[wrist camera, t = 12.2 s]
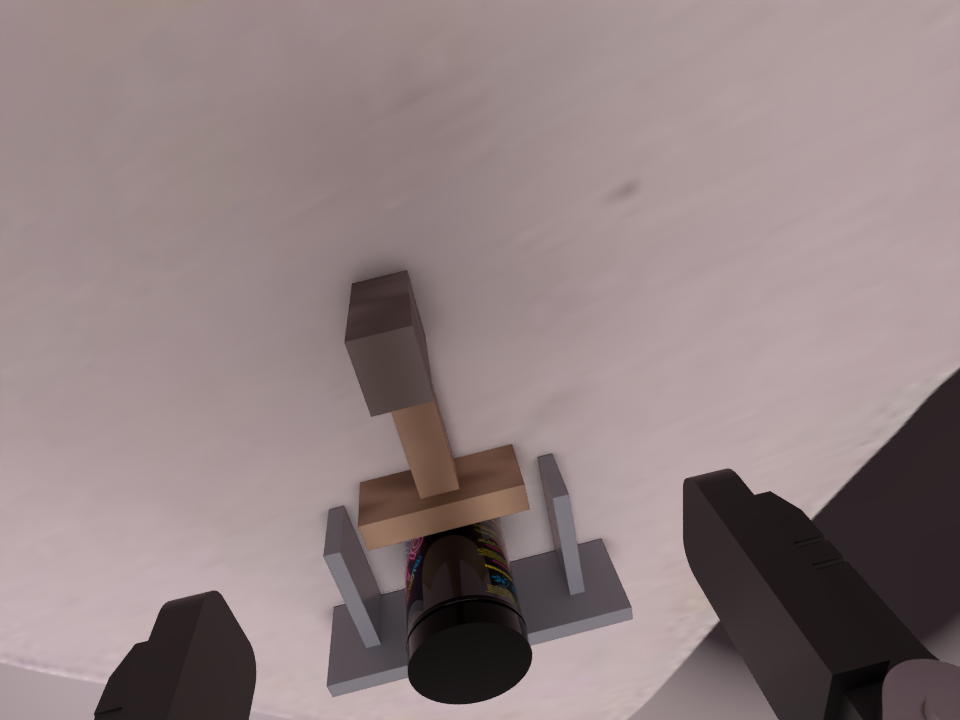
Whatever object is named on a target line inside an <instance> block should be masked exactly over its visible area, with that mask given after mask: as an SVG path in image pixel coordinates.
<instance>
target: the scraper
mask: <svg viewBox="0 0 960 720" xmlns="http://www.w3.org/2000/svg"><path fill="white" fill-rule="evenodd" d="M345 345H346V348H347V350H348V353H349V356H350V359H351V362H352V364H353V367H354V370H355V373H356V376H357V378H358V381H359V384H360V387H361V389H362V392H363V395H364V398H365V401H366V403H367V406H368V409H369V412H370V415H371V417H372V416H376V415H380V414H384V413H388V412H392V415H393V418H394V421H395V424H396V427H397V430H398V433H399V436H400V439H401V442H402V445H403V448H404V451H405V454H406V457H407V460H408V463H409V466H410V469H411V470H408V471H404V472H400V473H396V474H392V475H388V476H384V477H380V478H376V479H372V480H368V481H364V482H360V497H359V516H358V528H359V531H360V533H361V535H362V538H363V540H364V543H365V545H366V547H367V550H372V549H376V548H380V547H384V546H388V545H392V544H396V543H400V542H403V541H407V540H411V539H415V538H419V537H423V536H427V535H431V534H435V533H439V532H443V531H446V530H450V529H454V528H458V527H462V526H466V525H470V524H474V523H478V522H482V521H485V520H489V519H493V518H497V517H501V516H505V515H509V514H513V513H517V512H521V511H524V510H528V509H530V508H529V503H528V498H527V494H526V489H525V484H524V481H523V478H522V475H521V472H520V468H519V465H518V462H517V459H516V456H515V453H514V450H513V446H512V444H511V445H507V446H503V447H499V448H495V449H491V450H487V451H483V452H479V453H475V454H471V455H467V456H463V457H459V458H455V459H453V456H452V452H451V449H450V445H449V442H448V438H447V435H446V431H445V428H444V424H443V421H442V417H441V414H440V410H439V407H438V403H437V400H436V396H435V392H434V389H433V385H432V382H431V375H430V367H429V360H428V353H427V346H426V339H425V334H424V330H423V326H422V323H421V319H420V316H419V312H418V309H417V305H416V301H415V298H414V294H413V291H412V287H411V283H410V280H409V276H408V273H407V271H403V272H399V273H395V274H390V275H386V276H382V277H378V278H374V279H370V280H366V281H362V282H358V283H353V284H352V289H351V296H350V304H349V312H348V320H347V327H346V335H345Z"/></svg>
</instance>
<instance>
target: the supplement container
mask: <svg viewBox="0 0 960 720" xmlns="http://www.w3.org/2000/svg"><path fill="white" fill-rule="evenodd" d="M403 543H404V571H405V598H406V626H407V639H406V651H407V671H408V678H409V681H410V683H411V685H412V686H413V688H414V689H415V690H416V691H417V692H418V693H420V694H421V695H422V696H424V697H426V698H428V699H430V700H433V701H436V702H440V703H446V704H471V703H477V702H481V701H485V700H488V699H491V698H494V697H496V696H499V695H501V694H503V693H504V692H506V691H508V690H509V689H511V688H512V687H514V686H515V685H516V684H517V683H518V682H519V681H520V680H521V679H522V678H523V677H524V676H525V675H526V673H527V671H528V670H529V667H530V665H531V661H532V650H531V646H530V641H529V637H528V633H527V627H526V623H525V620H524V618H523V615H522V611H521V607H520V602H519V598H518V594H517V590H516V586H515V582H514V577H513V573H512V569H511V565H510V561H509V557H508V553H507V548H506V544H505V540H504V536H503V532H502V528H501V524H500V520H499V517H497V518H493V519H489V520H485V521H482V522H478V523H474V524H470V525H466V526H462V527H458V528H454V529H450V530H446V531H443V532H439V533H435V534H431V535H427V536H423V537H419V538H415V539H411V540H407V541H403Z"/></svg>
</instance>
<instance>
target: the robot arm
mask: <svg viewBox="0 0 960 720" xmlns="http://www.w3.org/2000/svg"><path fill="white" fill-rule="evenodd" d="M683 542H684V549H685V553H686V557H687V560H688V563H689V565H690V568H691V570H692V572H693V574H694V576H695V578H696V580H697V582H698V583H699V585H700V587H701V588H702V590H703V592H704V593H705V595H706V597H707V599H708V600H709V602H710V604H711V605H712V607H713V609H714V611H715V612H716V614H717V616H718V617H719V619H720V621H721V622H722V624H723V625H724V628H725V629H726V631H727V632H728V634H729V636H730V638H731V639H732V641H733V643H734V644H735V646H736V648H737V650H738V651H739V653H740V655H741V656H742V658H743V660H744V661H745V663H746V665H747V667H748V668H749V670H750V672H751V673H752V675H753V677H754V679H755V680H756V682H757V684H758V685H759V687H760V689H761V690H762V692H763V694H764V696H765V697H766V699H767V701H768V702H769V704H770V706H771V707H772V709H773V711H774V713H775V714H776V716H777V718H778V719H779V720H960V667H959V666H956V665H953V664H950V663H947V662H943V661H940V660H939V659H937V658H936V657H935V656H933V655H932V654H931V653H930V652H929V651H928V650H927V649H926V648H925V647H924V646H923V645H922V644H921V643H920V641H919V640H918V639H917V638H916V637H915V636H914V635H913V634H912V633H911V631H910V630H909V629H908V628H907V627H906V626H905V625H904V624H903V623H902V621H901V620H900V619H899V618H898V617H897V616H896V615H895V614H894V613H893V611H892V610H891V609H890V608H889V607H888V606H887V605H886V604H885V602H884V601H883V600H882V599H881V598H880V597H879V596H878V595H877V594H876V592H875V591H874V590H873V589H872V588H871V587H870V586H869V585H868V584H867V583H866V582H865V580H864V579H863V578H862V577H861V576H860V575H859V574H858V572H857V571H856V570H855V569H854V568H853V567H852V566H851V565H850V564H849V563H848V562H845V561H844V559H843V556H842V555H841V553H840V552H839V551H838V550H837V549H836V548H835V547H834V546H833V545H832V543H831V542H830V541H829V540H827V541H826V540H825V538H824V535H823V533H822V532H821V531H820V530H819V529H818V528H817V527H816V526H815V525H814V524H813V522H812V521H811V520H810V519H809V518H808V517H807V516H806V515H805V513H804V512H803V511H802V510H801V509H799V508H797V507H796V506H794V505H792V504H791V503H789V502H787V501H786V500H784V499H782V498H781V497H779V496H777V495H776V494H774V493H772V492H771V491H769V492H765V493H761V494H757V495H754V494H753V493H752V492H751V490H750V489H749V488H748V487H747V486H746V484H745V483H744V482H743V481H742V479H741V478H740V477H739V476H738V475H737V474H736V473H735V472H734V471H733V470H731V469H728V468H727V469H723V470H719V471H715V472H711V473H706V474H702V475H698V476H694V477H690V478H686V479H685V480H684V484H683ZM255 683H256V662H255V656H254V652H253V649H252V646H251V644H250V642H249V640H248V639H247V637H246V635H245V634H244V632H243V630H242V629H241V627H240V625H239V623H238V622H237V620H236V618H235V617H234V615H233V613H232V612H231V610H230V608H229V606H228V605H227V603H226V601H225V600H224V598H223V596H222V595H221V594H220V593H219V592H218V591H209V592H205V593H201V594H197V595H193V596H189V597H185V598H180V599H176V600H172V601H168V602H167V603H165V604H164V605H163V607H162V608H161V610H160V612H159V614H158V617H157V619H156V622H155V624H154V627H153V630H152V632H151V635H150V637H149V640H148V641H145V642H141V643H137V644H135V645H134V646H133V648H132V649H131V650H130V652H129V653H128V654H127V655H126V657H125V658H124V659H123V661H122V662H121V663H120V665H119V666H118V667H117V668H116V670H115V671H114V672H113V674H112V675H111V676H110V678H109V680H108V682H107V684H106V687H105V689H104V691H103V694H102V696H101V699H100V701H99V703H98V706H97V708H96V710H95V713H94V715H95V719H94V720H249V715H250V710H251V705H252V700H253V694H254V689H255Z"/></svg>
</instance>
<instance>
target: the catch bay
mask: <svg viewBox="0 0 960 720" xmlns="http://www.w3.org/2000/svg"><path fill="white" fill-rule="evenodd" d="M538 462H539V467H540V473H541V478H542V483H543V489H544V494H545V499H546V504H547V510H548V515H549V520H550V525H551V531H552V536H553V541H554V546H555V551H552V552H548V553H544V554H540V555H537V556H533V557H529V558H525V559H521V560H517V561H513V562H510V565H511V569H512V573H513V577H514V582H515V586H516V590H517V594H518V598H519V602H520V607H521V611H522V615H523V618H524V620H525V623H526V627H527V633H528V637H529V641H530V646H532V645H535V644H539V643H543V642H547V641H551V640H555V639H558V638H562V637H566V636H570V635H574V634H578V633H581V632H585V631H589V630H593V629H597V628H601V627H604V626H608V625H612V624H616V623H620V622H624V621H628V620H631V619H633V615H632V607H631V605H630V602H629V600H628V598H627V596H626V593H625V591H624V589H623V586H622V584H621V582H620V580H619V577H618V575H617V573H616V570H615V568H614V566H613V564H612V561H611V559H610V557H609V554H608V552H607V550H606V548H605V545H604V543H603V541H602V539H599V540H595V541H591V542H587V543H583V544H580V545H577V541H576V535H575V529H574V522H573V516H572V510H571V504H570V498H569V493H568V491H567V488H566V486H565V484H564V481H563V479H562V476H561V474H560V471H559V469H558V466H557V464H556V462H555V459H554V457H553V454H550V455H546V456H542V457H538ZM323 557H324V559H325V561H326V563H327V565H328V567H329V570H330V572H331V574H332V576H333V578H334V580H335V582H336V584H337V587H338V589H339V591H340V593H341V595H342V597H343V599H344V602H345V605H341V606H337V607H334V612H333V623H332V634H331V645H330V656H329V667H328V678H327V688H328V690H329V691H330V693H331V695H332V697H336V696H339V695H343V694H347V693H351V692H355V691H359V690H362V689H366V688H370V687H374V686H378V685H382V684H386V683H389V682H393V681H397V680H401V679H405V678H408V671H407V651H406V639H407V626H406V598H405V589H404V590H400V591H396V592H392V593H388V594H384V595H381V593H380V591H379V588H378V586H377V584H376V581H375V579H374V576H373V574H372V572H371V569H370V567H369V565H368V562H367V560H366V557H365V555H364V553H363V550H362V548H361V545H360V543H359V541H358V538H357V536H356V533H355V531H354V529H353V526H352V524H351V521H350V519H349V517H348V514H347V512H346V510H345V507H344V506H342V507H338V508H334V509H330V510H329V514H328V522H327V531H326V539H325V547H324V555H323Z"/></svg>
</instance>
